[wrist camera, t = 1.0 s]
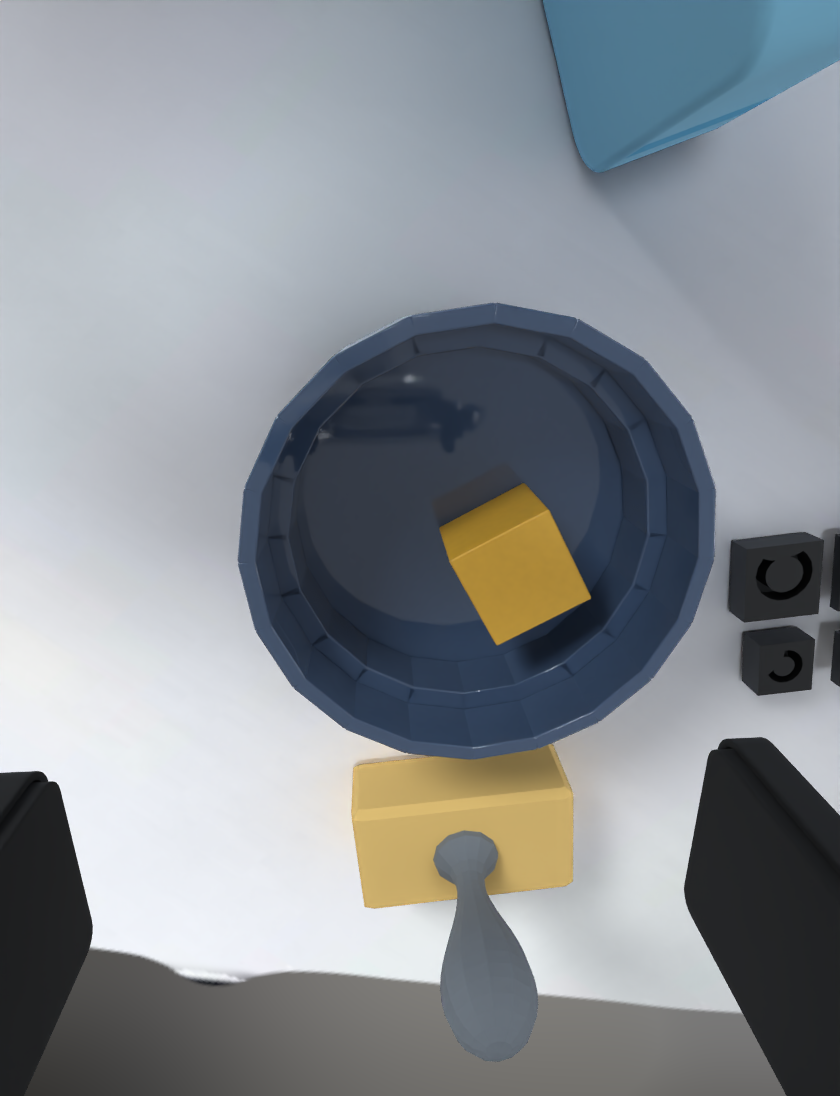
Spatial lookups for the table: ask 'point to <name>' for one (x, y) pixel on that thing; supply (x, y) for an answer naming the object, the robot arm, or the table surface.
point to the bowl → (453, 490)
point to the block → (513, 563)
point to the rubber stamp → (469, 871)
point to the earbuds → (781, 608)
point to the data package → (679, 66)
